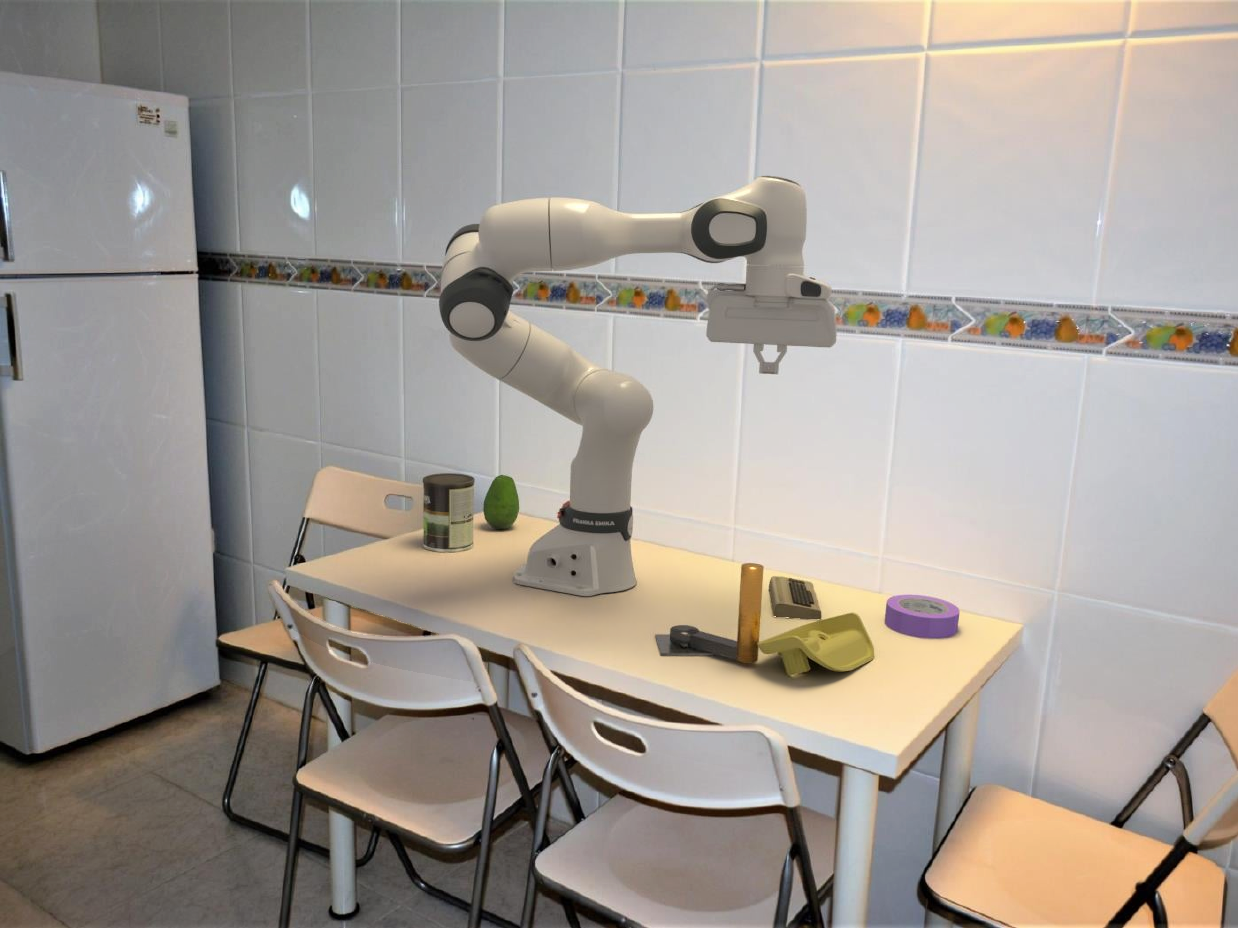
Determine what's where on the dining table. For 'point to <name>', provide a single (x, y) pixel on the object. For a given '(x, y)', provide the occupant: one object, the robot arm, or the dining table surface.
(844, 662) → the plastic component
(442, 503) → the coffee can
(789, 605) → the computer
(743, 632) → the crank handle
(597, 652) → the dining table surface
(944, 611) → the masking tape
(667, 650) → the pivot plate
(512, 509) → the avocado
